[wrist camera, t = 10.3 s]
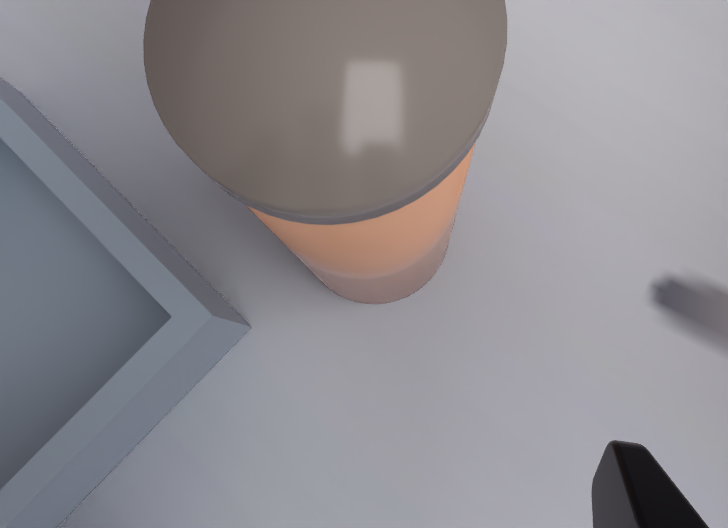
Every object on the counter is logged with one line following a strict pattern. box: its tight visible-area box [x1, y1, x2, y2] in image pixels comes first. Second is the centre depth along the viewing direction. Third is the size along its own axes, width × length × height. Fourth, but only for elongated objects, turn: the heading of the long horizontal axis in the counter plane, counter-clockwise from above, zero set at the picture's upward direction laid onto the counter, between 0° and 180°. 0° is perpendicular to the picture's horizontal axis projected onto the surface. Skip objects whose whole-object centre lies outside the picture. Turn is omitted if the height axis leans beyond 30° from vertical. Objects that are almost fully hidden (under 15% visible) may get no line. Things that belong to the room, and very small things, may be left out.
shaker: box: [144, 0, 507, 304], centre depth 15 cm, size 5×5×12 cm
